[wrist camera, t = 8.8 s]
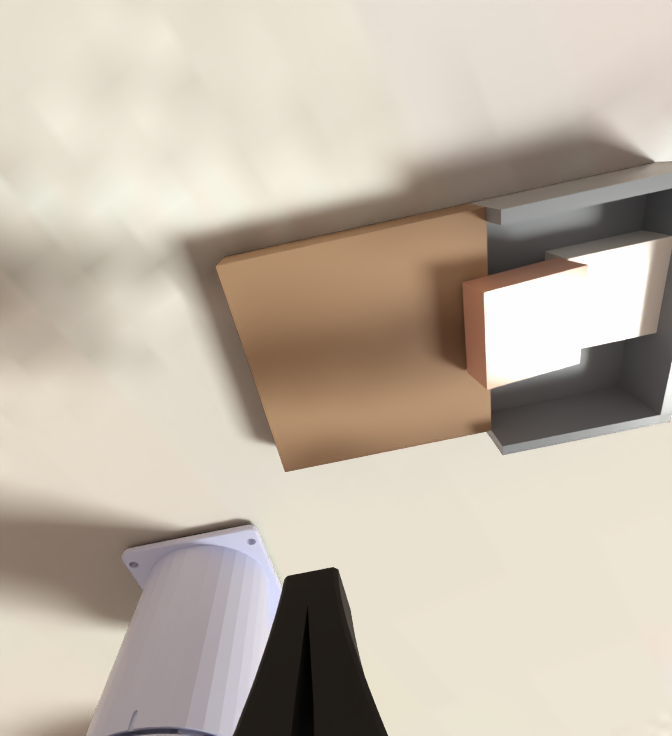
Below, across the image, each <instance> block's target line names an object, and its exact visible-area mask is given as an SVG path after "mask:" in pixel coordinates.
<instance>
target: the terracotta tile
mask: <svg viewBox="0 0 672 736" xmlns="http://www.w3.org/2000/svg"><path fill="white" fill-rule="evenodd" d="M587 275H588V265H587V264H582V263H578V262H574V261H570V260H565V259H561V258H554V259H550V260H546V261H542V262H538V263H535V264H531V265H527V266H523V267H519V268H516V269H512V270H508V271H504V272H500V273H496V274H493V275H489V276H485V277H481V278H477V279H474V280H470V281H466V282H462V289H463V307H464V324H465V342H466V360H467V373H468V374H469V375H471V376H472V377H473V378H474V379H475V380H476V381H477V382H479V383H480V384H481V385H482V386H483V387H484V388H486V389H487V390H488V389H492V388H495V387H499V386H502V385H506V384H509V383H513V382H516V381H520V380H523V379H527V378H530V377H533V376H537V375H540V374H544V373H547V372H551V371H554V370H558V369H561V368H565V367H568V366H572V365H575V364H579V362H580V352H581V341H582V330H583V319H584V308H585V297H586V286H587Z"/></svg>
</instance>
